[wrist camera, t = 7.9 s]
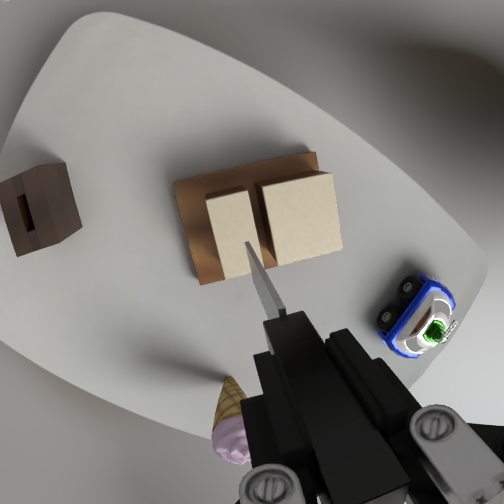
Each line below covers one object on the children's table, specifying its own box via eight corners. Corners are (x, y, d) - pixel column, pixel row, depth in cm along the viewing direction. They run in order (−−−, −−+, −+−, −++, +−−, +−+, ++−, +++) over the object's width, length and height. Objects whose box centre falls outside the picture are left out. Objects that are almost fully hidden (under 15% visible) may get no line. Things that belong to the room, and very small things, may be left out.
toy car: (444, 290, 45) (482, 315, 36) (401, 350, 47) (432, 383, 38) (414, 262, 43) (455, 287, 34) (365, 330, 45) (397, 366, 36)
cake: (254, 182, 35) (262, 187, 30) (314, 169, 35) (331, 172, 30) (268, 251, 37) (278, 266, 32) (325, 237, 38) (342, 249, 33)
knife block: (26, 178, 32) (-4, 185, 25) (65, 162, 32) (38, 165, 25) (43, 240, 34) (16, 257, 27) (82, 227, 35) (59, 242, 28)
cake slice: (205, 194, 34) (205, 200, 30) (241, 185, 35) (247, 190, 30) (222, 263, 37) (225, 279, 32) (256, 254, 37) (264, 269, 32)
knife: (234, 244, 21) (335, 507, 4) (258, 238, 21) (415, 473, 4) (244, 285, 22) (337, 548, 5) (267, 280, 22) (396, 525, 5)
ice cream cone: (260, 367, 44) (284, 447, 29) (249, 399, 45) (267, 478, 31) (212, 361, 42) (221, 445, 28) (204, 394, 44) (210, 476, 30)
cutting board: (173, 182, 35) (172, 183, 33) (311, 151, 36) (315, 151, 35) (200, 280, 39) (200, 285, 37) (327, 248, 40) (331, 252, 38)
